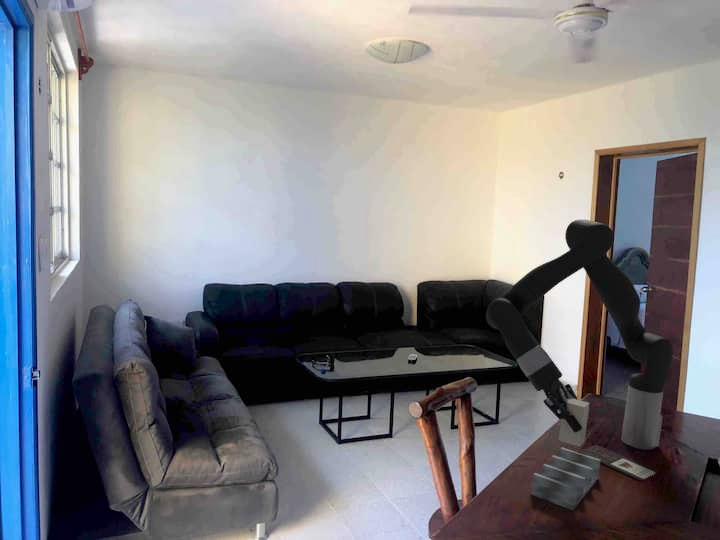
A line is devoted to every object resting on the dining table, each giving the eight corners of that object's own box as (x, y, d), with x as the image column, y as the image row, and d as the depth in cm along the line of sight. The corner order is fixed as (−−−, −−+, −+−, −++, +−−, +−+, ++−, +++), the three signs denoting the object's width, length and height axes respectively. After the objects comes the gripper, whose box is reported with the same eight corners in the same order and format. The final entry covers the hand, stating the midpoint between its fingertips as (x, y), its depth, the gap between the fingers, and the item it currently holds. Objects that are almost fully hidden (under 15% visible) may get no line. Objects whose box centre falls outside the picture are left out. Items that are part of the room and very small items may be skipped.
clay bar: (558, 440, 144) (563, 401, 142) (564, 435, 147) (568, 397, 146) (579, 446, 141) (584, 407, 139) (584, 441, 144) (589, 402, 143)
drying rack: (531, 494, 141) (533, 474, 140) (559, 465, 157) (561, 447, 156) (572, 510, 135) (575, 489, 134) (598, 478, 151) (600, 459, 150)
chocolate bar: (596, 444, 170) (657, 471, 156) (595, 447, 170) (657, 474, 156) (578, 451, 165) (640, 479, 151) (577, 454, 165) (640, 483, 151)
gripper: (540, 366, 140) (585, 429, 135) (560, 354, 151) (602, 412, 146) (516, 381, 144) (560, 444, 139) (537, 369, 155) (578, 426, 150)
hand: (581, 427), depth 142 cm, fingers closed on clay bar, 4 cm apart
